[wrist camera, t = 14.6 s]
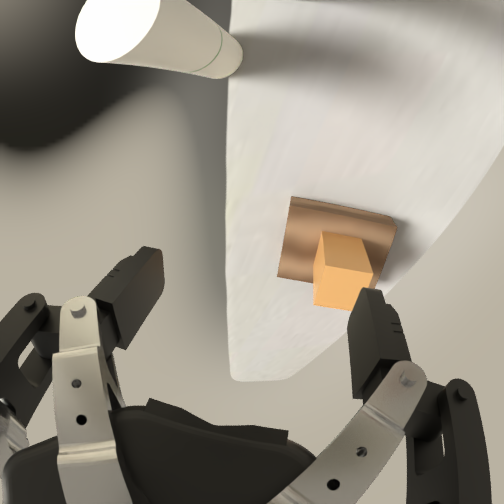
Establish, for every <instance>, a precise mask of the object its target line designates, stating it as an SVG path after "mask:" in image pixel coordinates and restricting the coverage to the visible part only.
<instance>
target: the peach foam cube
mask: <svg viewBox="0 0 504 504" xmlns="http://www.w3.org/2000/svg"><path fill="white" fill-rule="evenodd" d="M372 276H373V271H372V268H371V265H370V262H369V259H368V256H367V253H366V250H365V247H364V244H363V242H362V239H361V238H356V237H351V236H345V235H340V234H335V233H330V232H325V231H322V232H321V237H320V241H319V245H318V249H317V253H316V257H315V261H314V265H313V293H314V305H317V306H323V307H329V308H335V309H342V310H348V311H352V310H353V307H354V305H355V303H356V300H357V298H358V295H359V293H360V290H361V289H362V288H363V287H366V288H368V287H369V284H370V282H371V279H372Z"/></svg>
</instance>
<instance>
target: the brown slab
mask: <svg viewBox="0 0 504 504" xmlns="http://www.w3.org/2000/svg"><path fill="white" fill-rule="evenodd" d="M396 230H397V226H396V225H395V223H394V222H393V220H392V218H391V217H389V216H385V215H381V214H376V213H372V212H368V211H363V210H359V209H354V208H349V207H344V206H340V205H335V204H330V203H325V202H320V201H314V200H309V199H304V198H298V197H293V196H291V201H290V207H289V213H288V218H287V224H286V230H285V235H284V241H283V246H282V252H281V257H280V263H279V269H278V274H277V277H281V278H286V279H292V280H298V281H303V282H309V283H313V265H314V261H315V257H316V253H317V249H318V245H319V241H320V237H321V232H322V231H325V232H330V233H335V234H340V235H345V236H351V237H356V238H361V239H362V242H363V244H364V247H365V250H366V253H367V256H368V259H369V262H370V265H371V268H372V271H373V276H372V279H371V282H370V284H369V287H368V288H372V289H375V286H376V284H377V281H378V279H379V276H380V274H381V271H382V269H383V266H384V263H385V261H386V258H387V255H388V253H389V250H390V247H391V244H392V242H393V239H394V236H395V233H396Z"/></svg>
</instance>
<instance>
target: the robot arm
mask: <svg viewBox="0 0 504 504" xmlns="http://www.w3.org/2000/svg"><path fill="white" fill-rule="evenodd" d="M164 283H165V279H164V268H163V256H162V251H161V250H160V249H156V248H151V247H146V246H143V247H141V249H139V251H138V252H137V253H136V254H135V255H134V256H129V257H127V258H125V259H123V260H121V261H120V262H119V263H118V264H117V265H116V266H115V267H114V268H113V270H111V271H110V272H109V273H108V274H107V276H105V277H104V278H103V279H102V281H101V282H100V283H99V284H98V285H97V286H96V287H95V288H94V289H93V290H92V291H91V293H90V294H89V295H88V296H77V297H74V298H71V299H70V300H68V301H67V302H66V303H65V304H64V305H63V306H51V305H50V306H49V305H47V303H46V300H45V298H44V296H43V295H41V294H39V293H31V294H28V295H26V296H24V297H23V298H21V299H20V300H19V301H18V302H17V303H16V304H15V306H14V307H13V308H12V309H11V310H10V311H9V312H8V314H7V315H6V316H5V317H4V318H3V319H2V320H1V322H0V478H1V479H2V491H3V504H355V503H356V502H357V501H358V499H359V498H360V497H361V496H362V495H363V494H364V493H365V491H366V490H367V489H368V488H369V486H370V485H371V484H372V482H373V481H374V480H375V478H376V477H377V476H378V474H379V473H380V472H381V470H382V469H383V467H384V466H385V465H386V463H387V462H388V460H389V459H390V457H391V456H392V454H393V453H394V451H395V450H396V448H397V447H398V445H399V443H400V442H401V440H402V439H403V437H404V435H406V448H407V498H406V504H492V500H491V482H490V471H489V463H488V455H487V448H486V442H485V436H484V431H483V427H482V421H481V417H480V412H479V408H478V404H477V400H476V396H475V392H474V390H473V388H472V387H471V386H470V385H469V384H468V383H467V382H466V381H464V380H462V379H453V380H451V381H450V382H449V383H448V384H447V385H446V386H442V385H439V384H436V383H432V382H430V381H427V378H426V375H425V373H424V371H423V370H422V369H421V368H420V367H419V366H418V365H417V364H415V363H413V362H412V361H411V358H410V353H409V350H408V346H407V342H406V339H405V335H404V334H403V329H402V326H401V322H400V319H399V316H398V313H397V312H396V311H395V309H394V308H393V307H392V306H391V305H390V304H386V303H385V300H384V297H383V293H382V291H381V290H378V289H372V288H366V287H363V288H362V289H361V290H360V293H359V295H358V298H357V300H356V303H355V305H354V307H353V310H352V312H351V315H350V317H349V321H348V327H347V333H348V343H349V353H350V365H351V378H352V394H353V399H363V406H362V407H361V409H360V410H359V411H358V412H357V413H356V415H355V416H354V417H353V418H352V419H351V421H350V422H349V423H348V424H347V425H346V426H345V428H344V429H343V430H342V431H341V432H340V433H339V435H337V437H336V438H335V439H334V440H333V441H332V442H331V443H330V444H329V445H328V446H327V447H326V448H325V449H324V450H323V451H322V452H321V453H320V454H319V455H318V456H317V457H315V456H314V455H313V454H312V453H311V452H310V451H308V450H307V449H306V448H304V447H303V446H301V445H299V444H297V443H295V442H293V441H291V440H288V439H287V437H288V430H280V429H273V428H267V427H261V426H255V425H245V426H244V425H241V426H217V425H213V424H210V423H208V422H206V421H204V420H202V419H200V418H198V417H197V416H195V415H193V414H191V413H189V412H188V411H186V410H184V409H182V408H179V407H176V406H173V405H170V404H166V403H163V402H160V401H157V400H154V399H152V398H149V400H148V402H147V404H146V406H127V407H126V405H125V402H124V399H123V397H122V394H121V390H120V385H119V381H118V376H117V371H116V366H115V361H114V356H113V353H112V352H113V350H114V348H115V347H119V348H121V349H124V350H126V349H127V347H128V346H129V344H130V343H131V341H132V339H133V338H134V336H135V335H136V333H137V331H138V330H139V328H140V326H141V325H142V324H143V322H144V320H145V319H146V317H147V316H148V314H149V313H150V311H151V310H152V308H153V306H154V305H155V304H156V302H157V300H158V299H159V297H160V296H161V294H162V292H163V289H164ZM30 341H31V342H32V344H33V346H34V348H33V350H32V351H31V353H30V354H29V355H28V357H27V358H26V360H25V361H24V363H23V364H22V366H21V367H20V369H19V367H18V359H19V356H20V355H21V353H22V352H23V350H24V349H25V348H26V346H27V345H28V344H29V342H30ZM52 380H53V397H54V409H55V420H56V428H57V436H55V437H52V438H50V439H47V440H45V441H43V442H40V443H37V444H35V445H32V446H30V447H28V446H29V441H28V439H27V438H26V437H27V432H26V427H27V425H28V423H29V421H30V419H31V417H32V415H33V413H34V412H35V410H36V408H37V406H38V404H39V403H40V401H41V399H42V397H43V396H44V394H45V392H46V390H47V389H48V387H49V385H50V384H51V382H52ZM442 434H443V438H444V448H445V455H443V446H442V445H443V444H442V436H441V435H442Z"/></svg>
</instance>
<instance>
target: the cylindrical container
mask: <svg viewBox="0 0 504 504" xmlns="http://www.w3.org/2000/svg"><path fill="white" fill-rule="evenodd" d="M75 37H76V43H77V47H78V49H79V51H80V52H81V54H82V55H83V56H85V58H87V59H89V60H91V61H94V62H104V63H117V64H129V65H139V66H146V67H154V68H160V69H168V70H173V71H179V72H184V73H189V74H194V75H199V76H204V77H208V78H214V79H219V78H224V77H227V76H229V75H231V74H233V73H234V72H235V71H236V70H237V69H238V68H239V66H240V64H241V62H242V59H243V51H242V48H241V45H240V44H239V43H238V41H236V40H235V39H234V38H233V37H232V36H231V35H230V34H228V33H227V32H226V31H225V30H224V29H222V28H221V27H220V26H219V25H218V24H216V23H215V22H214V21H213V20H211V19H210V18H209V17H208V16H206V15H205V14H203V13H202V12H201V11H200V10H198V9H197V8H196V7H194V6H193V5H192V4H190V3H189V2H187V1H186V0H87V2H86V3H85V5H84V6H83V8H82V10H81V12H80V14H79V17H78V20H77V24H76V31H75Z"/></svg>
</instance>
